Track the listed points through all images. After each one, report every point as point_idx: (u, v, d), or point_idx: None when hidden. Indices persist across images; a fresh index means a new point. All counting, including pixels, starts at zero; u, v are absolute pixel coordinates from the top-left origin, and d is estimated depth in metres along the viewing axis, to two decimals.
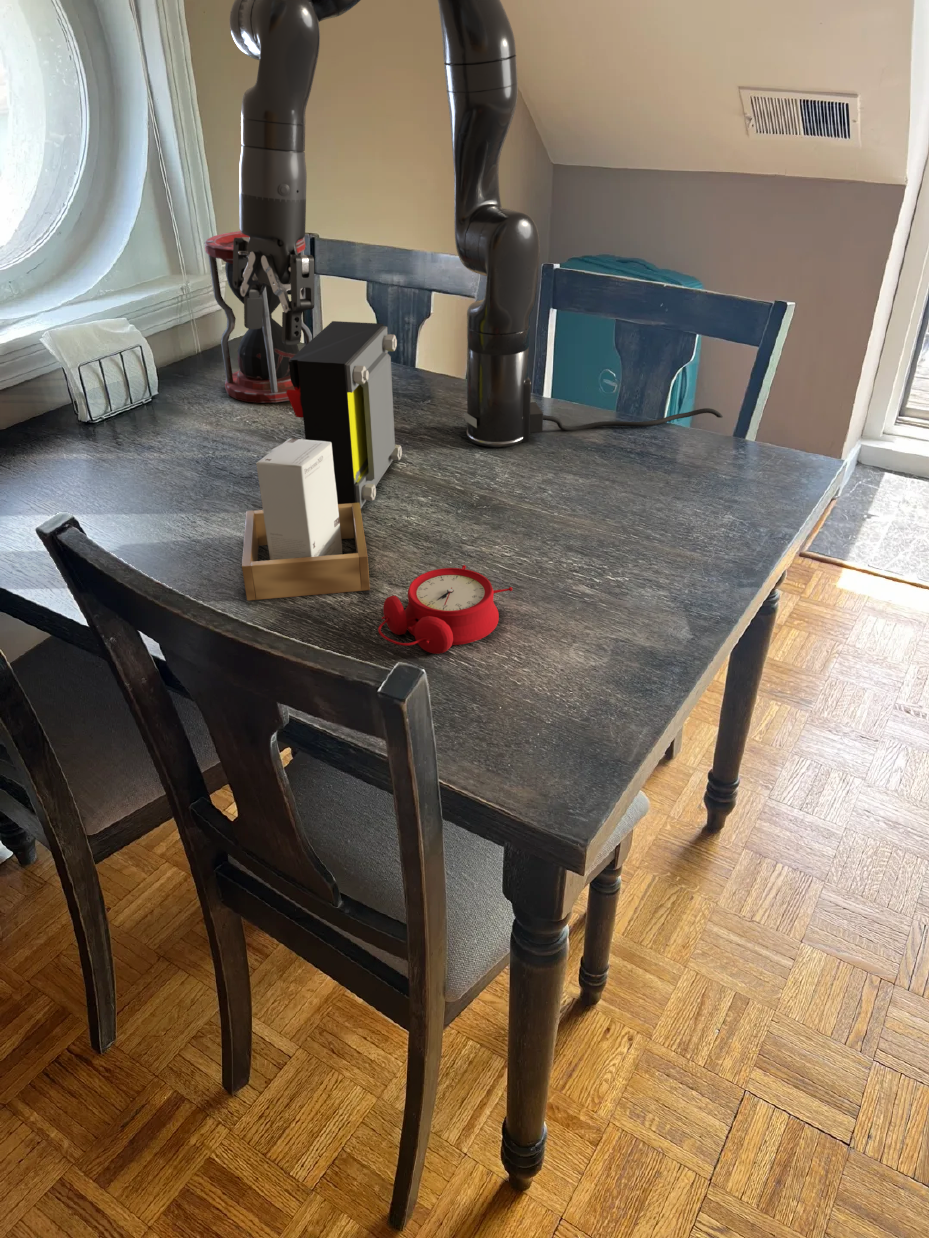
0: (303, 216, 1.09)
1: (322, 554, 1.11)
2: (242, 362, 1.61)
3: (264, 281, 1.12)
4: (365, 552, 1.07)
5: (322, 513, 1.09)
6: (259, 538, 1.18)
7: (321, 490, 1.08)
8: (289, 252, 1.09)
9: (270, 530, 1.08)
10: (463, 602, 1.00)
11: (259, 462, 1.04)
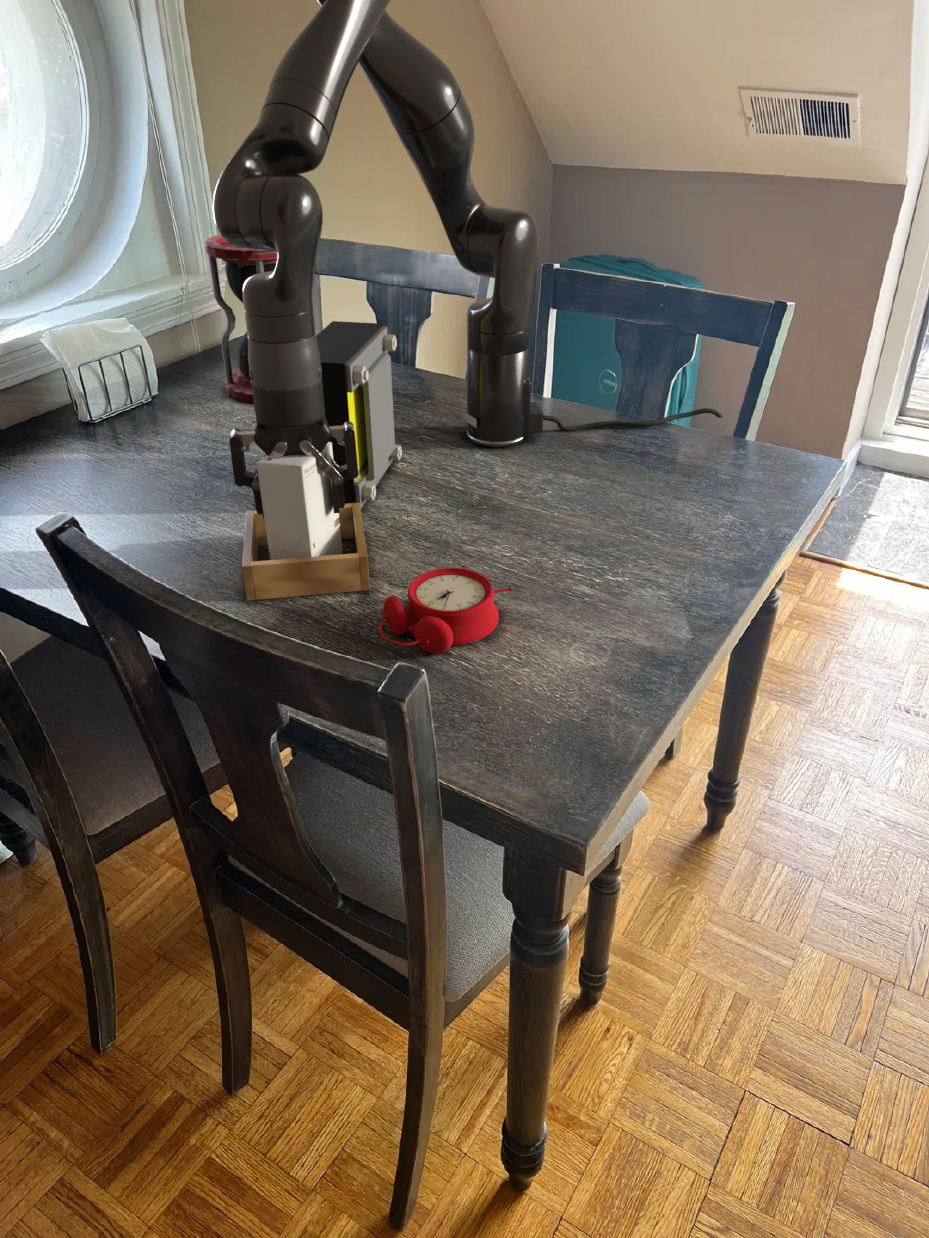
0: None
1: (322, 554, 1.11)
2: (242, 362, 1.61)
3: None
4: (365, 552, 1.07)
5: (322, 513, 1.09)
6: (259, 538, 1.18)
7: (322, 490, 1.08)
8: None
9: (270, 530, 1.08)
10: (463, 602, 1.00)
11: (259, 462, 1.04)
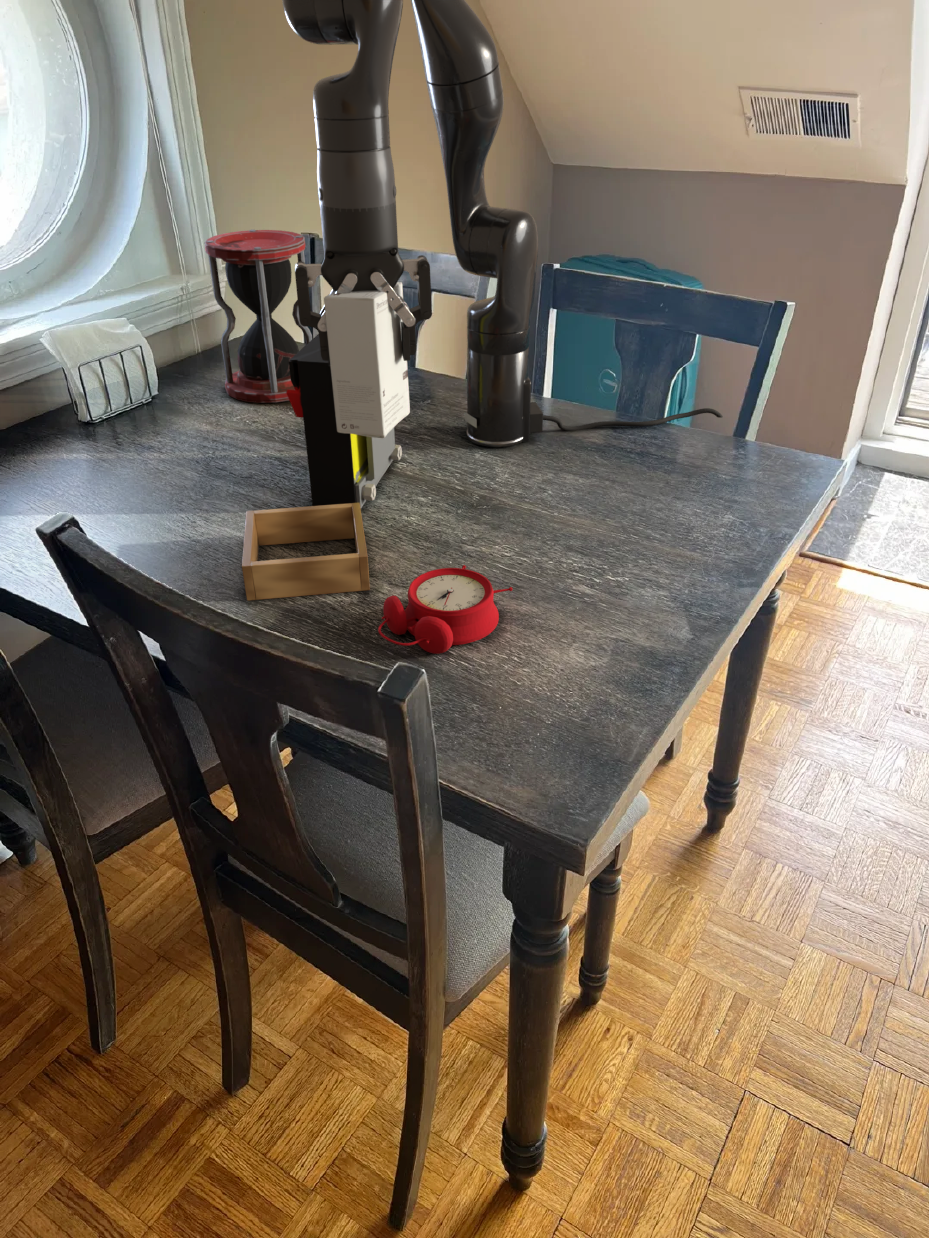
0: None
1: (391, 407, 1.03)
2: (242, 362, 1.61)
3: None
4: (365, 552, 1.07)
5: (392, 360, 1.01)
6: (259, 538, 1.18)
7: (392, 333, 1.00)
8: None
9: (336, 377, 1.00)
10: (463, 602, 1.00)
11: (327, 297, 0.96)
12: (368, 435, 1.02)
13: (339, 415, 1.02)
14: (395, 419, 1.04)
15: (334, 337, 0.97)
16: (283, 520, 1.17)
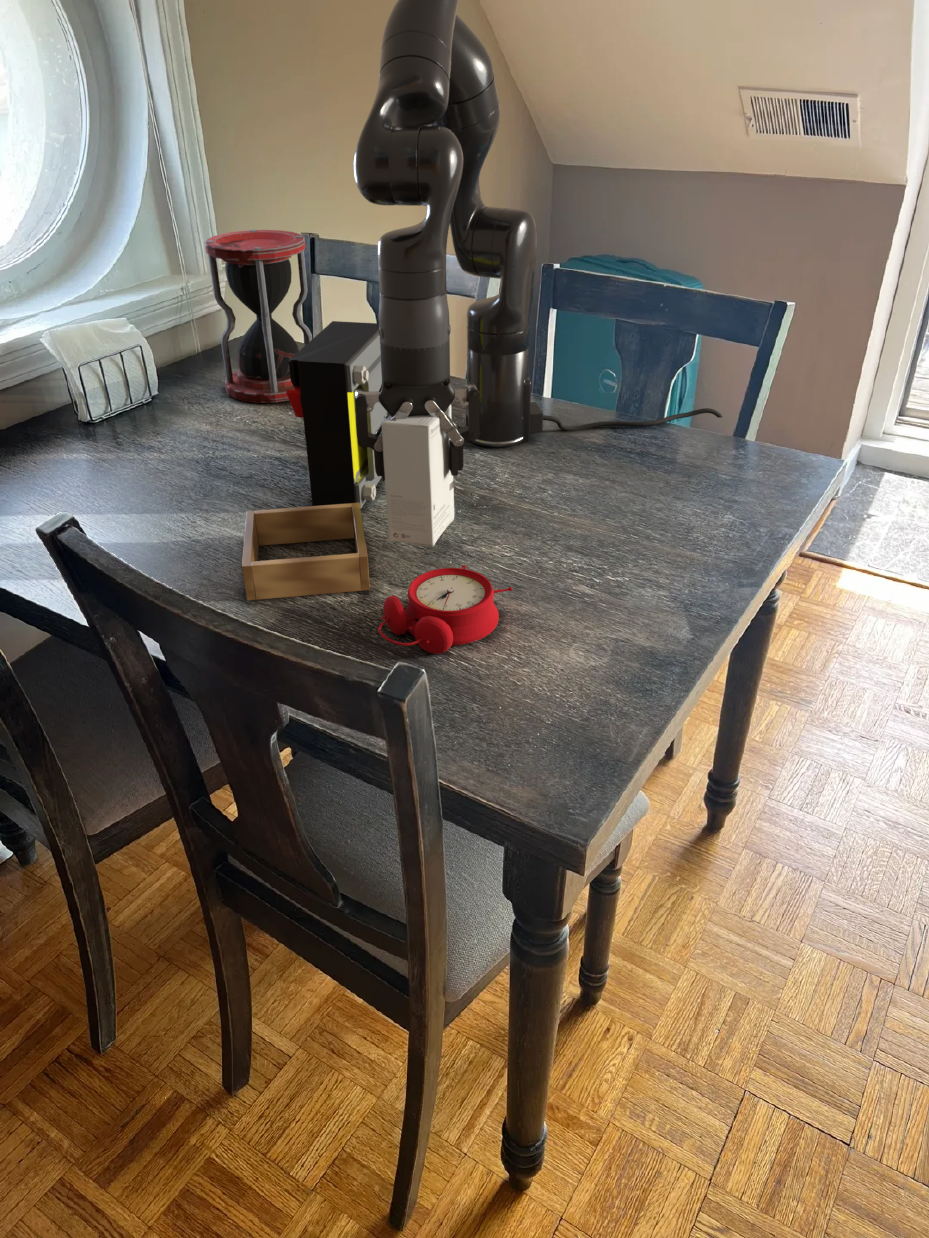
0: None
1: (439, 517, 1.10)
2: (242, 362, 1.61)
3: None
4: (365, 552, 1.07)
5: (441, 476, 1.09)
6: (259, 538, 1.18)
7: (442, 452, 1.08)
8: None
9: (390, 492, 1.08)
10: (463, 602, 1.00)
11: (384, 422, 1.03)
12: (418, 544, 1.10)
13: (391, 525, 1.10)
14: (442, 527, 1.12)
15: (390, 457, 1.05)
16: (283, 520, 1.17)
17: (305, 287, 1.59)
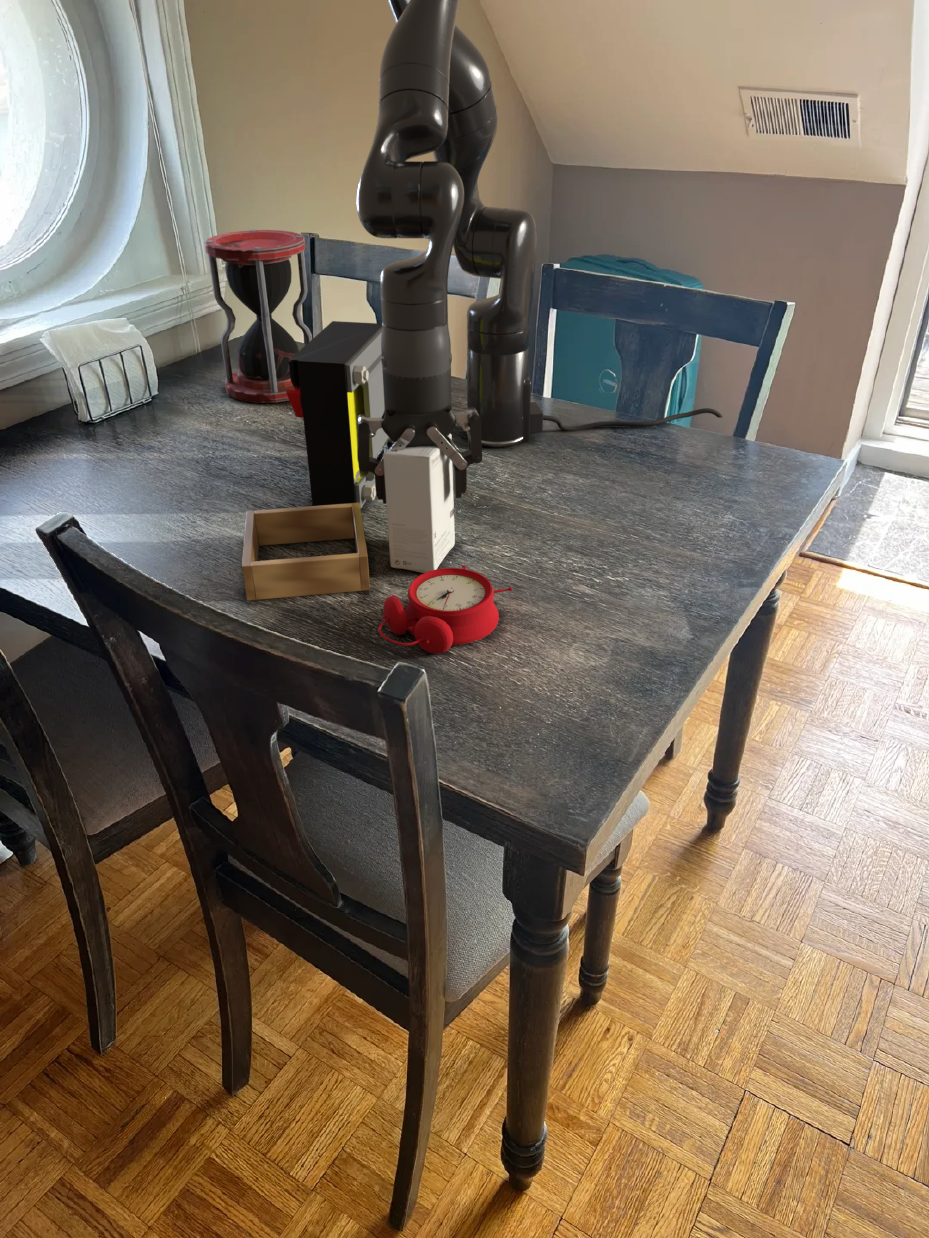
0: None
1: (440, 544, 1.12)
2: (242, 362, 1.61)
3: None
4: (365, 552, 1.07)
5: (442, 504, 1.11)
6: (259, 538, 1.18)
7: (443, 481, 1.10)
8: None
9: (392, 520, 1.10)
10: (463, 602, 1.00)
11: (386, 453, 1.05)
12: (419, 571, 1.12)
13: (393, 553, 1.12)
14: (443, 554, 1.14)
15: (391, 487, 1.07)
16: (283, 520, 1.17)
17: (305, 287, 1.59)
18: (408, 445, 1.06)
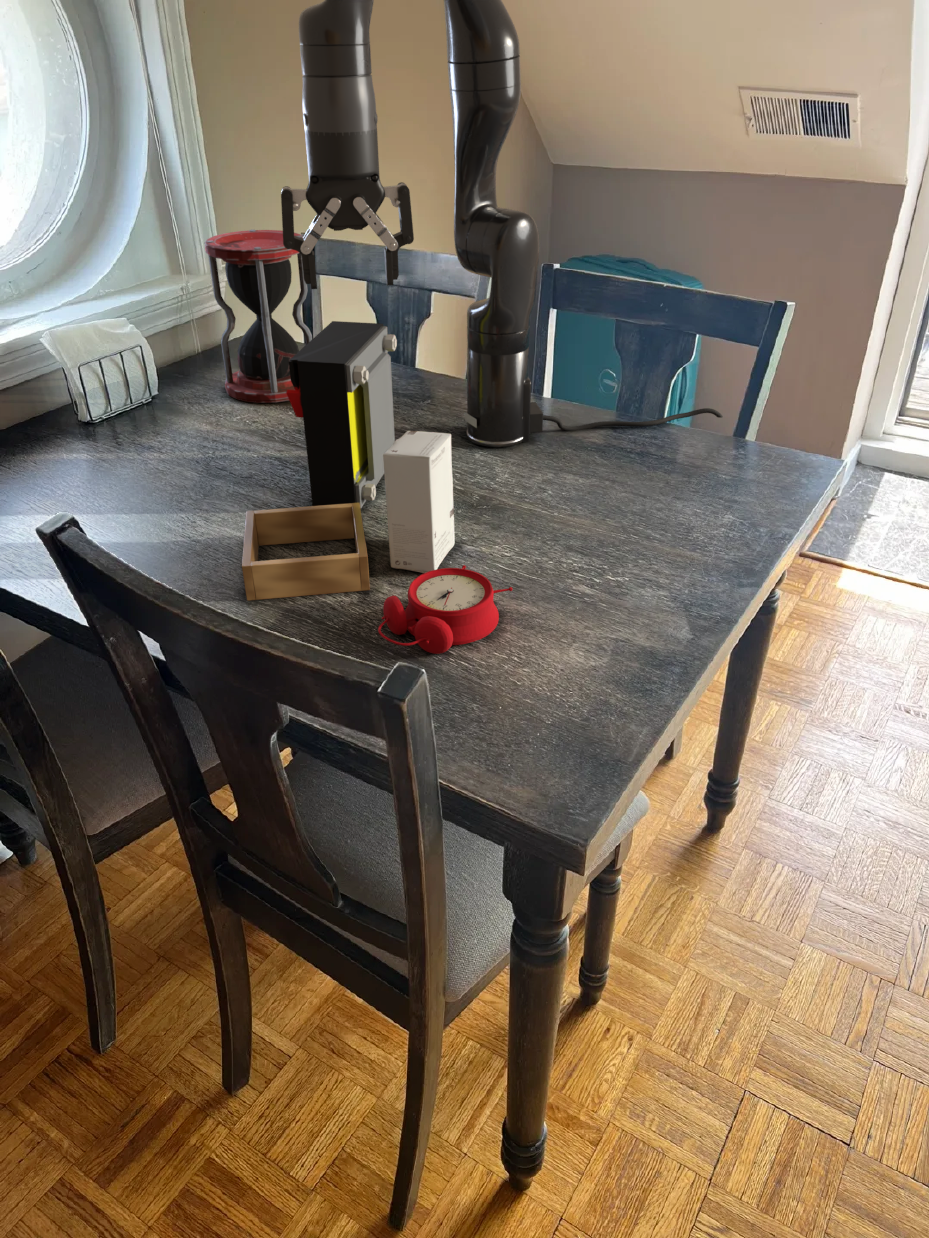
0: None
1: (440, 544, 1.12)
2: (242, 362, 1.61)
3: (347, 227, 1.02)
4: (365, 552, 1.07)
5: (442, 504, 1.11)
6: (259, 538, 1.18)
7: (442, 481, 1.10)
8: None
9: (392, 521, 1.10)
10: (463, 602, 1.00)
11: (386, 453, 1.05)
12: (420, 571, 1.12)
13: (393, 553, 1.12)
14: (443, 554, 1.14)
15: (391, 487, 1.07)
16: (283, 520, 1.17)
17: (305, 287, 1.59)
18: (334, 220, 1.02)
